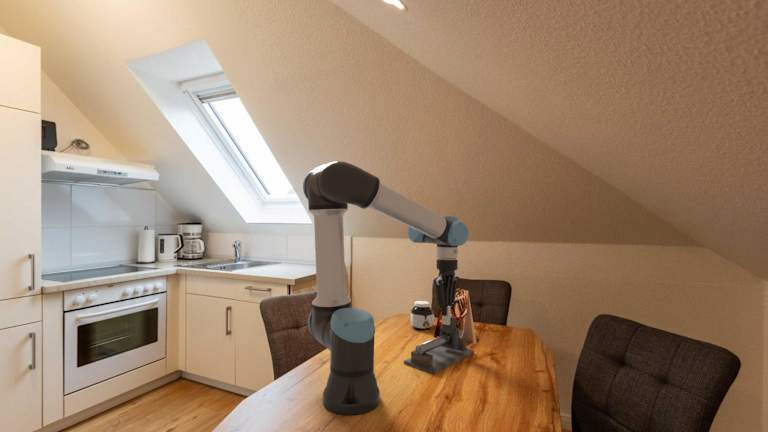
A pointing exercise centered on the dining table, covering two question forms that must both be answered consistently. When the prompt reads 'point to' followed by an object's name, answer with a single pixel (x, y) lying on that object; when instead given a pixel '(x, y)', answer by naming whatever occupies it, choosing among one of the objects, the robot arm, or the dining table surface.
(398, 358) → the dining table surface
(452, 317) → the dark grey tall block
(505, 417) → the dining table surface
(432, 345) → the pipe
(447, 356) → the pipe rig
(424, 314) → the spread jar
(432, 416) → the dining table surface
